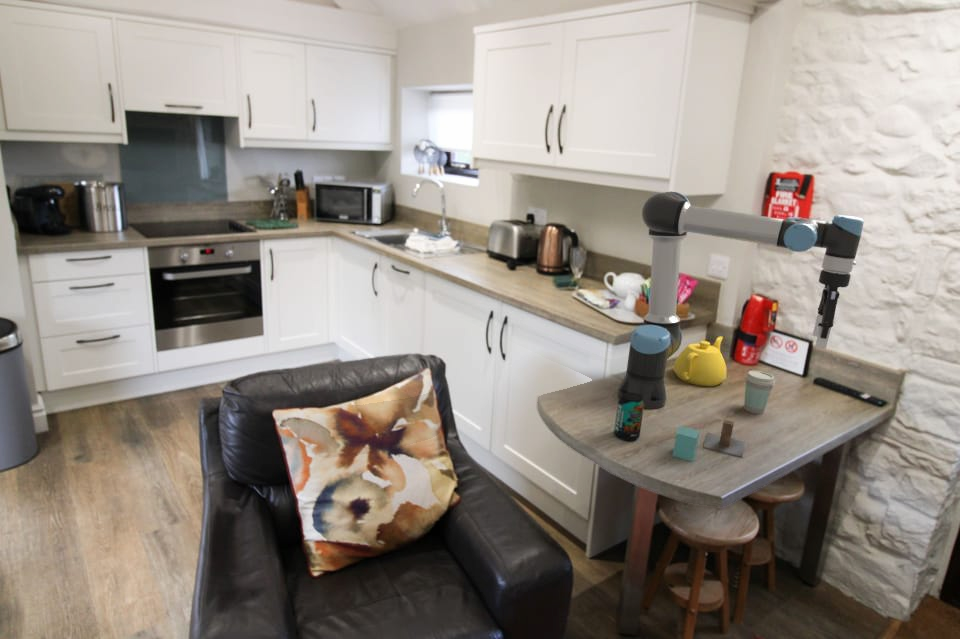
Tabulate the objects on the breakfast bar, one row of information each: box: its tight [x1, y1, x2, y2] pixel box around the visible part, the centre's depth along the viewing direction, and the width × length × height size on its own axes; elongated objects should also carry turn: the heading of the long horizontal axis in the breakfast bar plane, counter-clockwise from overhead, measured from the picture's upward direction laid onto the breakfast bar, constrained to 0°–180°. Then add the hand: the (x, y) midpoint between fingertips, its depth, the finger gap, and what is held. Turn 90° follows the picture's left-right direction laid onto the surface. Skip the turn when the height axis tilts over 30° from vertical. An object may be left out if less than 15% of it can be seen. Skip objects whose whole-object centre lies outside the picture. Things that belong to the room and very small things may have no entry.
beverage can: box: [613, 392, 645, 442], centre depth 173 cm, size 7×7×12 cm
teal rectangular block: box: [672, 425, 701, 462], centre depth 166 cm, size 5×5×7 cm
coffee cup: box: [743, 370, 776, 415], centre depth 197 cm, size 8×8×12 cm
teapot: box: [673, 336, 727, 387], centre depth 222 cm, size 25×18×14 cm
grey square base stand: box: [702, 419, 745, 458], centre depth 172 cm, size 10×10×7 cm
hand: (818, 342), depth 183 cm, fingers open, 13 cm apart
